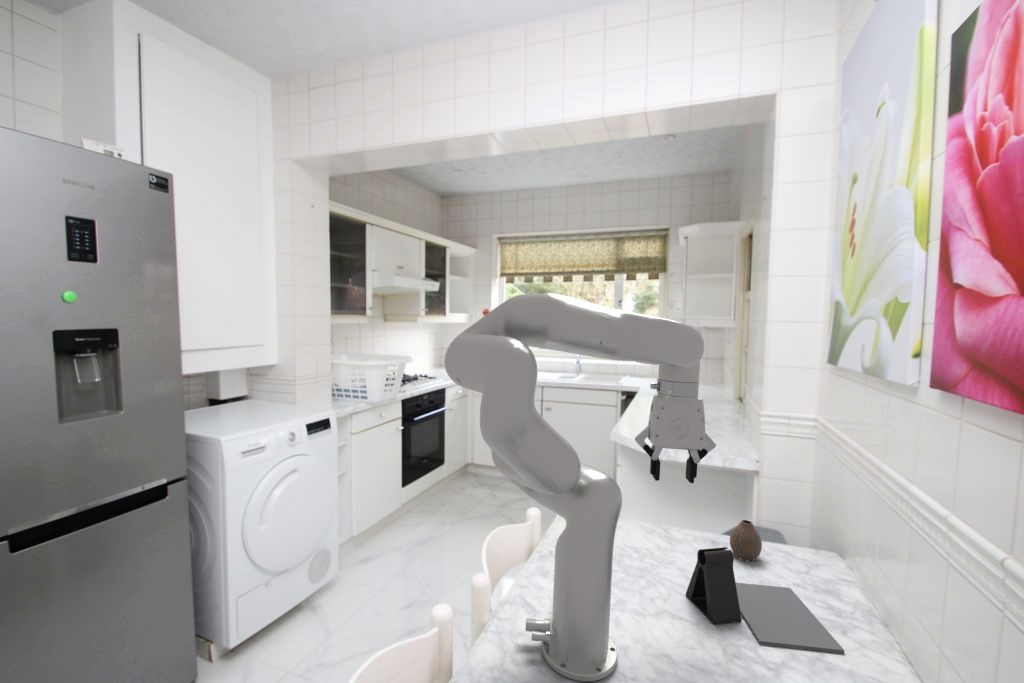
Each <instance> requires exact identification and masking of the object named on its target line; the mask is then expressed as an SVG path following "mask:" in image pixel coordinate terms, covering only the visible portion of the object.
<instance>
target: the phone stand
mask: <svg viewBox="0 0 1024 683" xmlns="http://www.w3.org/2000/svg"><path fill="white" fill-rule="evenodd" d="M696 555H697V561H696V564H695V566H694V570H693V572H692V575H691V578H690V581H689V584H688V586H687V589H686V592H685V597H686V598H687V599H688V600H689V601H690V602H691V603H692V604H693V605H694V607H696V608H697V609H698V611H700V613H701V614H702V615H703V616H704V617H705V618H706V619H707V620H708V621H709V622H710V623H711V624H712V625H722V624H723V625H724V624H730V623H737V622H742V616H741V613H740V607H739V601H738V595H737V589H736V583H737V582H736V577H735V573H734V560H735V558H734V553H733V551H732V549H728V546H725V547H723V546H722V547H713V548H702V549H701V548H700V549H698V550H697V554H696Z"/></svg>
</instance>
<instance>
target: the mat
mask: <svg viewBox="0 0 1024 683" xmlns="http://www.w3.org/2000/svg"><path fill="white" fill-rule="evenodd" d="M735 583H736V589H737V595H738V601H739V607H740V613H741V618H743V620H744V622H745V623H746V625H747V627H748V629H749V630H750V632H751V633H752V635H753V637H754V638H755V640H756V641H757V643H758V644H759V645H763V646H773V647H780V648H781V647H782V648H790V649H799V650H808V651H818V652H827V653H836V654H845V649H844V648H843V647H842V646H841V644H840V643H839V642H838V641H837V640H836V639H835V637H833V635H832V634H831V633H830V632H829V631H828V630H827V628H826V627H825V626H824V625H823V624H822V623H821V622H820V621H819V619H818V618H817V616H815V615H814V614H813V612H812V611H811V610H810V609H809V608H808V607H807V605H806V604H805V603H804V602H803V601H802V600H801V599H800V597H799V596H798V595H797V593H795V592H794V591H793V590H792V588H791V587H787V586H786V587H784V586H774V585H764V584H755V583H742V582H735Z"/></svg>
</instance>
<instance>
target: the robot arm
mask: <svg viewBox="0 0 1024 683" xmlns="http://www.w3.org/2000/svg"><path fill="white" fill-rule="evenodd" d="M531 347H532V348H541V349H545V350H551V351H557V352H563V353H570V354H575V355H581V356H587V357H591V358H597V359H606V360H612V361H623V362H625V361H626V362H636V363H639V364H645V365H652V366H658V372H657V373H658V375H657V376H658V377H657V379H656V380H655V381H652V382H650V384H649V386H650V387H649V388H650V390H655V391H656V393H655V394H653V397H652V401H651V406H650V409H649V410H650V412H649V415H648V417H649V418H648V423H647V424H648V425H647V426H646V427H645V428H644V429H643V430H641V432H639V434H638V433H637V435H636V436H635V437H634V440H635V442H636V444H638V445H639V446H640V448H642V449H643V451H644V452H645V453H646V454H647V455H648V456H649V457H650V461H649V462H650V464H649V466H650V467H649V474H650V476H651V475H652V477H653V479H654V480H655V481H656V482H657V481H660V476H661V461H660V457H659V456H660V455H661V452H662V450H663V449H667V450H668V449H669V450H670V449H671V450H686V451H687V454H688V457H687V458H686V462H685V463H686V464H685V479H686V480H687V481H688V482H689V483H690V484H694V483H695V479H696V478H697V474H698V464H700V462H701V460H702V459H703V458H705V457H706V456H707V455H708V453H710V452H712V451H713V450H714V449H715V448H716V447H717V444H716V443H715V442H714V440H713V439H712V438H711V437H710V436H709V435H708V434H707V432H706V416H705V406H704V400H703V398H702V397H699V388H700V371H701V370H700V369H701V359H702V357H703V355H704V352H705V342H704V338H703V335H702V332H701V330H700V329H698V328H696V327H694V326H692V325H690V324H686V323H684V322H680V321H676V320H673V319H670V318H669V319H668V318H664V317H659V316H658V317H657V316H652V315H647V314H641V313H637V312H632V311H627V310H624V309H623V310H622V309H615V308H612V307H607V306H605V305H604V306H603V305H599V304H596V303H593V302H588V301H585V300H582V299H578V298H574V297H571V296H567V295H563V294H559V293H558V294H557V293H549V292H547V293H528V294H526V293H525V294H518V295H515V296H513V297H510V298H509V299H506V300H505V301H503V302H502V303H501V304H499V305H497V306H496V307H495V308H494V309H492V310H490V311H489V312H487V314H485V315H483V316H482V317H481V318H480V319H479V320H477V321H476V322H474V323H473V324H472V325H469V326H468V327H467V328H466V329H464V330H463V331H462V332H461V333H460V334H458V335H457V336H455V337H454V339H452V341H451V342H450V344H449V345H448V347H447V349H446V351H445V354H444V361H443V362H444V369H445V372H446V374H447V376H448V377H449V379H450V380H451V381H452V382H453V383H455V384H456V385H458V386H459V387H461V388H464V389H466V390H471V391H474V392H477V393H480V394H481V399H480V405H479V406H480V408H479V429H480V434H481V437H482V439H483V441H484V443H485V444H486V445H487V446H488V448H489V449H491V450H490V451H491V452H490V453H491V459H492V462H493V464H494V466H495V468H496V469H497V471H499V473H500V474H501V475H502V476H503V477H505V478H506V479H507V480H509V481H510V482H511V483H512V484H513V485H515V486H516V487H517V488H518V489H519V490H521V491H522V492H524V493H525V494H526V495H527V496H529V497H530V498H531V499H532V500H534V501H535V502H536V503H537V504H540V505H541V506H543V507H544V508H546V509H547V510H550V511H552V512H553V513H555V514H557V516H559V517H561V518H563V519H564V521H565V527H564V529H563V531H562V532H561V533H560V535H559V536H558V538H557V540H556V543H555V547H554V548H555V550H554V569H553V571H554V572H553V593H552V595H553V596H552V611H550V616H549V617H550V618H544V620H543V619H542V620H541V619H537V618H530V617H529V618H525V632H531V641H532V642H541V651H542V655H543V657H544V660H545V661H546V663H547V664H548V665H549V666H550V667H551V669H553V670H554V671H555V672H557V673H558V674H560V675H561V676H563V677H565V678H567V679H570V680H574V681H579V682H586V683H587V682H596V681H600V680H603V679H605V678H606V677H608V676H610V675H611V674H612V673H613V671H615V669H616V667H617V663H618V648H617V645H616V643H615V641H614V640H613V638H612V637H611V636H610V618H611V616H610V615H611V601H612V599H611V598H612V597H611V596H612V578H613V577H612V576H613V559H614V544H615V538H616V531H617V527H618V523H619V518H620V515H621V511H622V505H623V496H622V495H623V494H622V491H621V488H620V486H619V484H618V483H617V481H616V480H615V479H613V478H612V477H611V475H608V474H607V473H606V472H604V471H603V470H600V469H598V468H596V467H593V466H591V465H588V464H586V463H583V462H581V461H580V458H579V455H578V453H577V452H576V450H575V449H574V447H573V445H572V444H571V443H570V442H569V441H568V440H567V439H566V438H564V437H563V435H561V434H560V433H559V432H558V431H557V429H555V428H554V427H553V426H552V425H551V424H550V423H549V422H548V421H547V420H546V419H545V418H544V417H543V416H542V415H541V414H540V413H539V411H538V410H537V409H536V406H535V405H536V404H535V394H536V393H535V392H536V387H537V381H538V364H537V359H536V357H535V354H534V352H533V351H532V350H531ZM646 439H648V440H649V441H650V443H651V444H652V445H651V446H649V444H648V443H647V442H645V441H646Z"/></svg>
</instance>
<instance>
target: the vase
mask: <svg viewBox="0 0 1024 683" xmlns="http://www.w3.org/2000/svg"><path fill="white" fill-rule="evenodd" d="M762 542H763V541H762V538H761V535H760V533H759V532H758V531H757V529H756V528H755V526H754V524H753V522H752V521H751V520H748V519H742V520H741V521H740V522H739V523H738V524H737V525H736V526H735V527H733V529H732V530H731V533H730V536H729V545H730V548H731V549H730V550H731V551H732V553H733V555H735V556H736V557H737V558H738V557H739V558H738V559H740V558H741V559H740V560H742V559H743V561H745V560H747V561H746V562H753V561H755V560H756V559H758V558H759V557H760V555H761V552H762V549H763V548H762V547H763V543H762Z"/></svg>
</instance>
